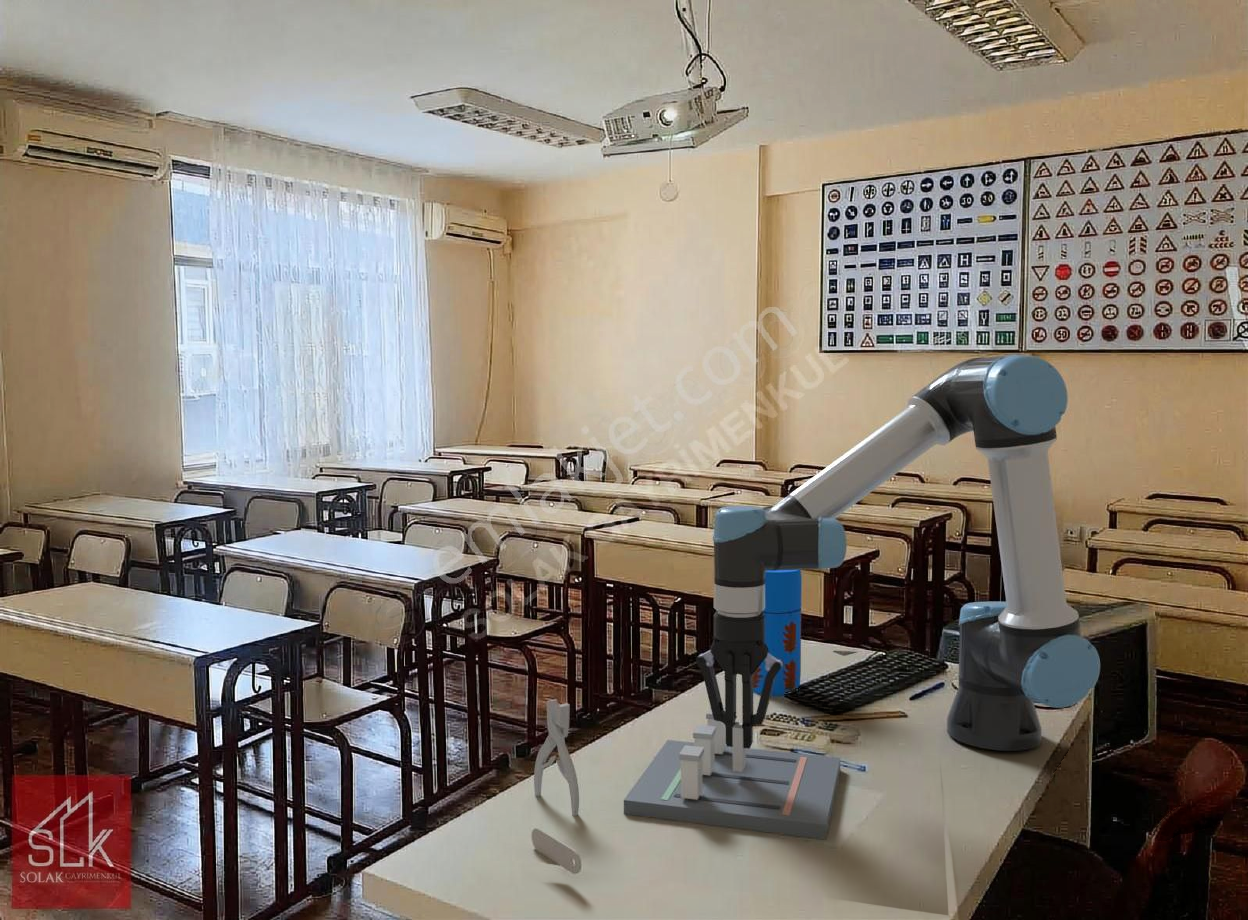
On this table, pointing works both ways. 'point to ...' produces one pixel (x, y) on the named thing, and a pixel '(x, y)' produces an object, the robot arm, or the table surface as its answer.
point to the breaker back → (717, 732)
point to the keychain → (556, 850)
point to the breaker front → (691, 771)
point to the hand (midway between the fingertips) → (739, 767)
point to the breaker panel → (743, 792)
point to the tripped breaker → (706, 746)
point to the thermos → (782, 630)
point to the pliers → (557, 732)
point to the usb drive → (847, 652)
